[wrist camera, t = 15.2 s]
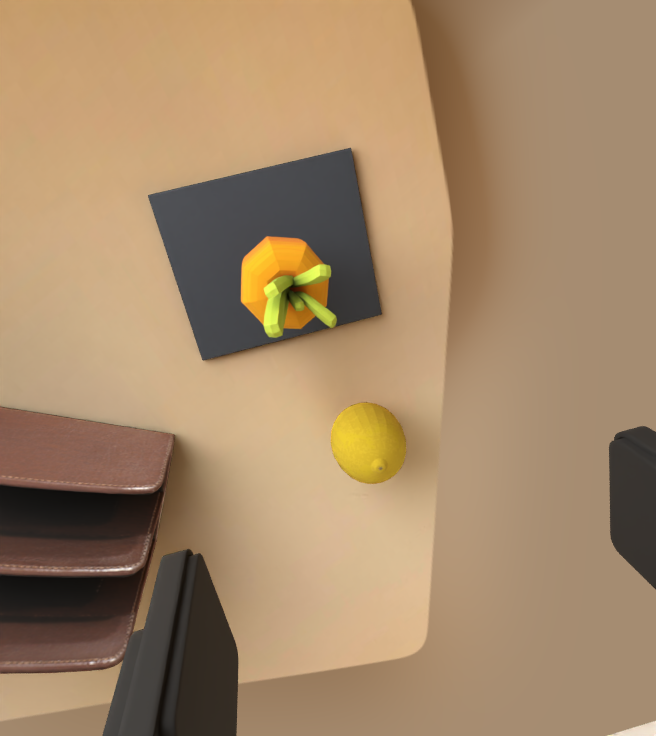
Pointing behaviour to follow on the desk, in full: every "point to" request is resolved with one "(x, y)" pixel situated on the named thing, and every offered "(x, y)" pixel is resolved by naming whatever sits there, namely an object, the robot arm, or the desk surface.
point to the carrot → (285, 285)
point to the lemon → (368, 443)
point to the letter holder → (75, 538)
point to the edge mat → (249, 227)
